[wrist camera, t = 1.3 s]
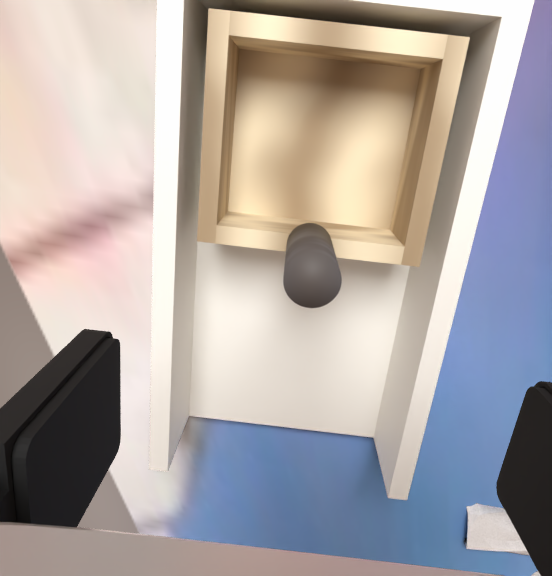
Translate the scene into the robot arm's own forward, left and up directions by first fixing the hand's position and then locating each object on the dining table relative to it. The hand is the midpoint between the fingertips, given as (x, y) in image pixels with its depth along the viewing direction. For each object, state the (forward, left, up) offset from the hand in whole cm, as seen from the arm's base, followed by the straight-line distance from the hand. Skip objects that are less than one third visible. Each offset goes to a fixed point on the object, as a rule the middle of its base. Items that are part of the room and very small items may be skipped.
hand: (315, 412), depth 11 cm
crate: (0, -5, -20) cm, 21 cm away
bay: (0, +1, -21) cm, 21 cm away
